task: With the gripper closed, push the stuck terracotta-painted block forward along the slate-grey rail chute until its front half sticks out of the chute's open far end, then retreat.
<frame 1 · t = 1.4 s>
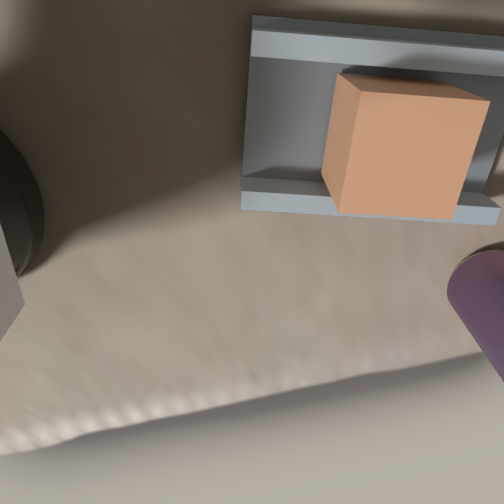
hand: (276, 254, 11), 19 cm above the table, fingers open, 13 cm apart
beverage can: (481, 277, 34), on the table
chute: (371, 123, 28), on the table
block: (391, 143, 24), point 4 cm above the table, slide at 0.0 cm
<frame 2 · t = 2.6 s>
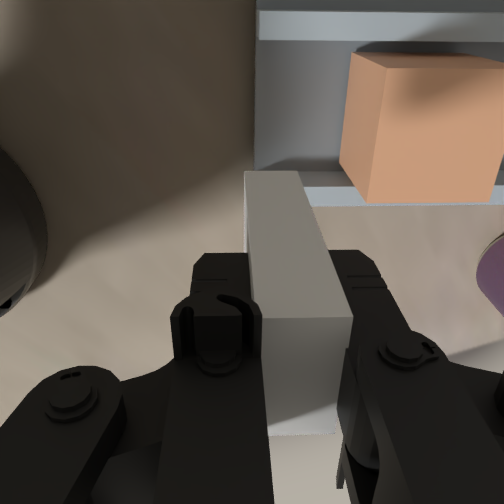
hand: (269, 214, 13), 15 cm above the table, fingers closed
chute: (389, 105, 26), on the table
block: (417, 123, 22), point 4 cm above the table, slide at 0.0 cm
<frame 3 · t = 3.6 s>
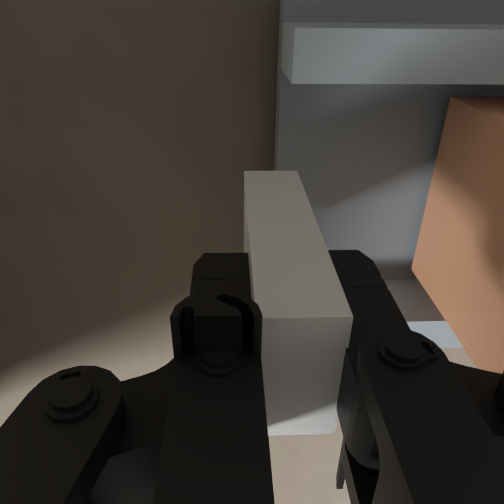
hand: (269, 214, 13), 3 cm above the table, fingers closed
chute: (495, 176, 16), on the table
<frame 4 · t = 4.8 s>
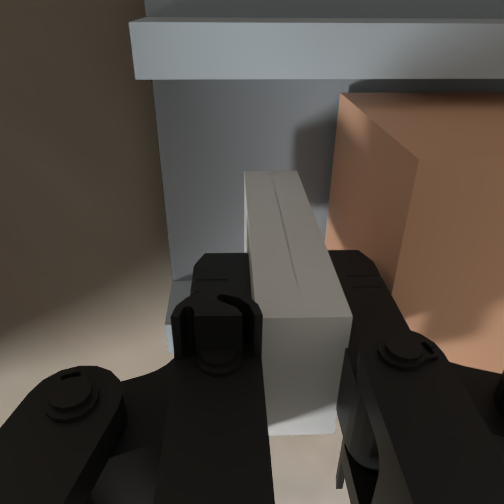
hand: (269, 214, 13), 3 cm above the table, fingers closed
chute: (393, 173, 16), on the table
block: (463, 230, 12), point 4 cm above the table, slide at 0.4 cm, touching gripper
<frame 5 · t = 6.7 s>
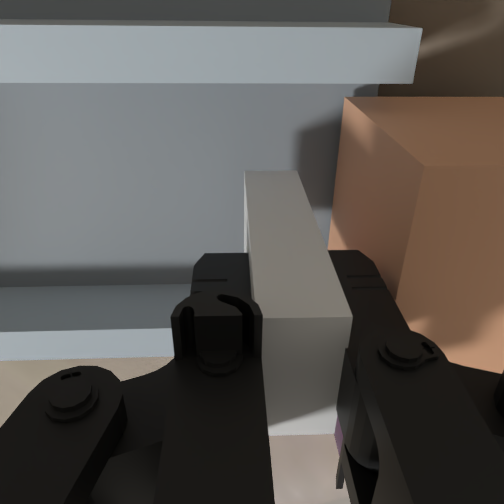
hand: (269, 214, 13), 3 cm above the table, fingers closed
chute: (126, 179, 15), on the table
block: (467, 235, 12), point 4 cm above the table, slide at 9.9 cm, touching gripper
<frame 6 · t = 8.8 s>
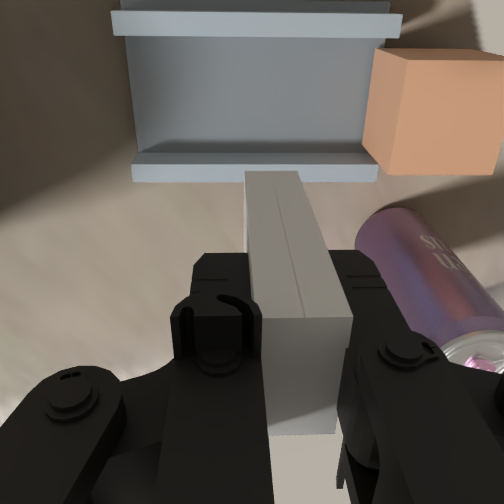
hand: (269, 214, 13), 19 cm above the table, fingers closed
beverage can: (388, 236, 36), on the table
chute: (254, 94, 30), on the table
block: (431, 109, 26), point 4 cm above the table, slide at 10.3 cm
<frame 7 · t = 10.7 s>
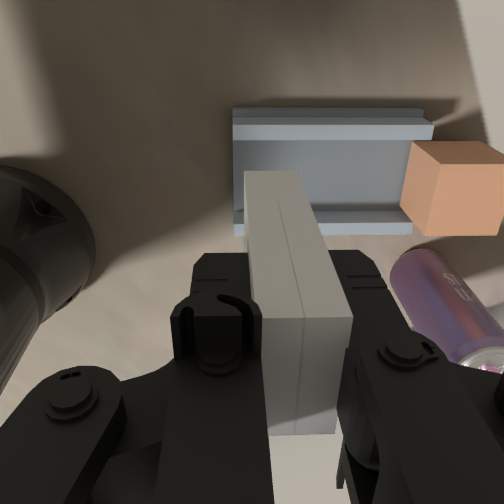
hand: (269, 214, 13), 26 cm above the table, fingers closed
beverage can: (415, 269, 46), on the table
chute: (321, 169, 40), on the table
block: (453, 187, 37), point 4 cm above the table, slide at 10.3 cm
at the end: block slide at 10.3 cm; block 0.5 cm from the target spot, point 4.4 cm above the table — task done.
